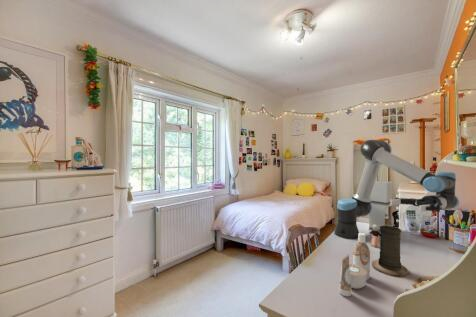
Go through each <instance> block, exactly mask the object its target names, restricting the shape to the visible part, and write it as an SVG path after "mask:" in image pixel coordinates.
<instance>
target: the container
mask: <svg viewBox="0 0 476 317" xmlns="http://www.w3.org/2000/svg"><path fill="white" fill-rule="evenodd" d="M380 231H381V235H380V236H379V238H380V239H379V240H380V241H379V249H380V250H379V257H378V260H379V262H378V263H379V265H380V266H381V267H383V268H385V269H388V270H393V271H399V270H401V269H402V267H401V265H402V262H401V232H402V229H401V228H399V227H397V226H392V225H385V226H380Z"/></svg>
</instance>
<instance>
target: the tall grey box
mask: <svg viewBox="0 0 476 317" xmlns="http://www.w3.org/2000/svg"><path fill="white" fill-rule="evenodd" d="M370 199H371V205H372V210H371V212H370V213H369V214H368V215H369V216H368V218H369V219H368V220H369V222H368V225H369V226H368V230H369V231H370V232H371V231H372V230H373V225H377V226H378V227H379V229H378V230H377V231H378V232H380V233H381V231H380V226H386V223H385V222H386V218H387V217H388V216H389V208H390V207H392V206H393V205H390V200H393V181H392V180H391V181H378V179H376V180H375V183H374V186H373V189H372V192H371V195H370Z"/></svg>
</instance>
